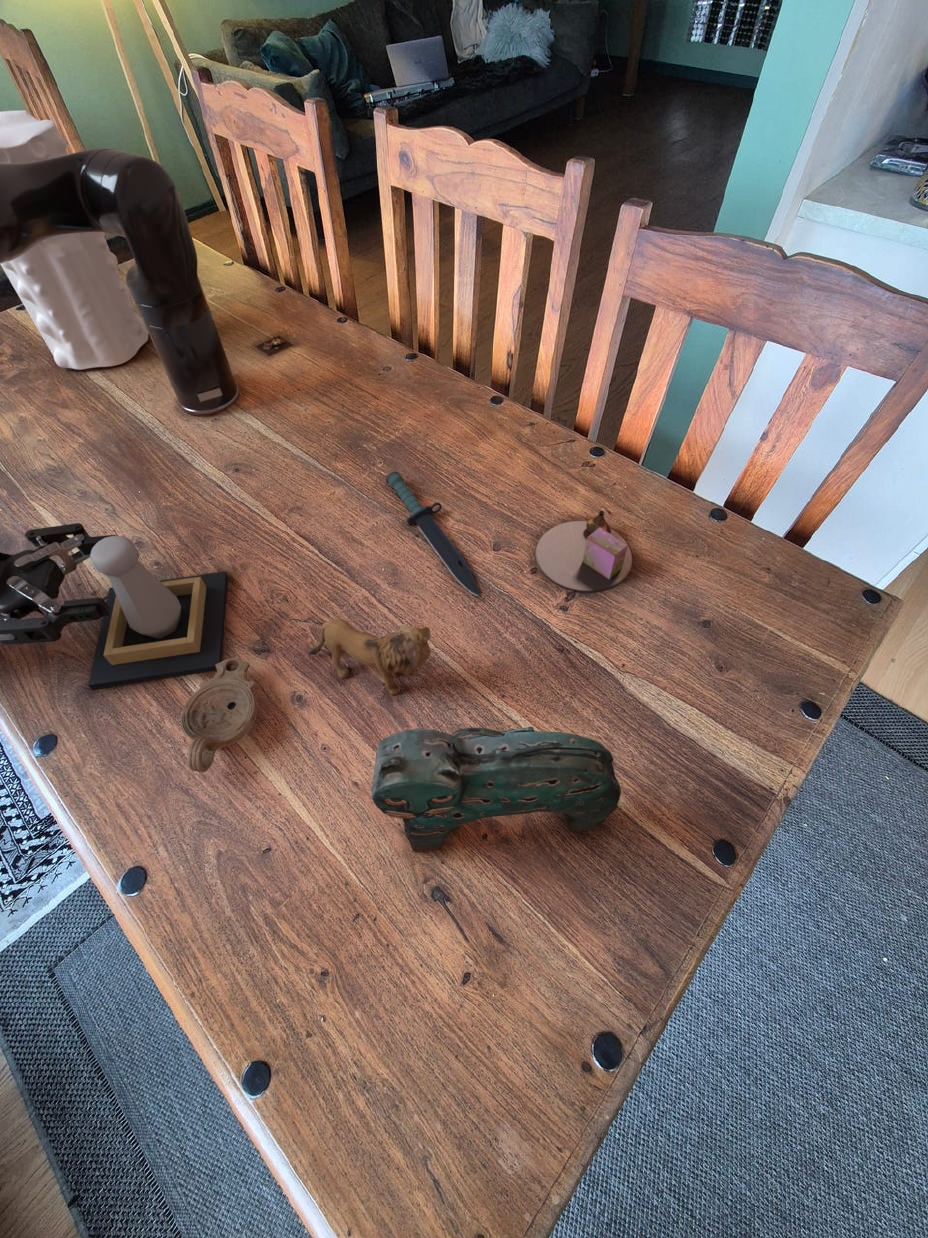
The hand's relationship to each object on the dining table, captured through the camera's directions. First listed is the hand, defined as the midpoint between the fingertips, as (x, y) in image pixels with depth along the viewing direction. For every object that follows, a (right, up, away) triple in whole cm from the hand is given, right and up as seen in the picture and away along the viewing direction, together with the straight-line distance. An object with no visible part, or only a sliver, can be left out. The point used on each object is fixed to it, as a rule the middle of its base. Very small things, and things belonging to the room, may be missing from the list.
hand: (116, 574), depth 66 cm
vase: (-27, +43, +46) cm, 69 cm away
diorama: (+3, +43, +45) cm, 62 cm away
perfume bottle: (+51, +3, +13) cm, 53 cm away
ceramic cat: (+40, -24, -6) cm, 47 cm away
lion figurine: (+27, -10, +4) cm, 29 cm away
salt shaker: (+1, -5, +8) cm, 9 cm away
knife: (+33, +6, +16) cm, 37 cm away
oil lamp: (+12, -16, +1) cm, 20 cm away
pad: (+1, -6, +8) cm, 10 cm away
